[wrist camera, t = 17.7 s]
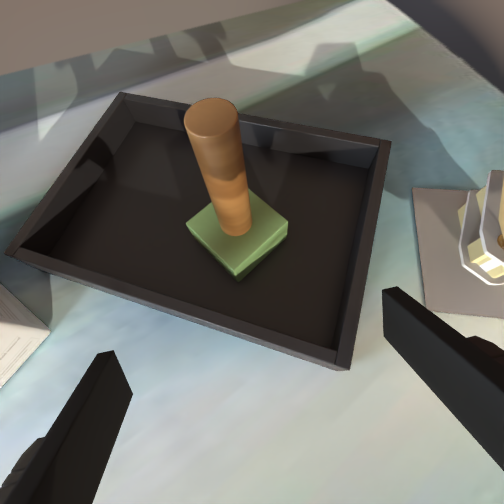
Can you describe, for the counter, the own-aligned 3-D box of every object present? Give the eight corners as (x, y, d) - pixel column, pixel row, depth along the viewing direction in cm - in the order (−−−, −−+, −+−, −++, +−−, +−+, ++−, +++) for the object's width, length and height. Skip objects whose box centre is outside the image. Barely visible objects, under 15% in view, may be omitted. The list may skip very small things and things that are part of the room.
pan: (37, 268, 22) (2, 253, 19) (135, 119, 28) (119, 91, 25) (337, 371, 18) (349, 370, 15) (377, 168, 24) (391, 140, 21)
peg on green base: (194, 239, 21) (124, 119, 11) (241, 199, 23) (216, 59, 13) (238, 283, 20) (202, 189, 10) (286, 237, 21) (299, 111, 11)
